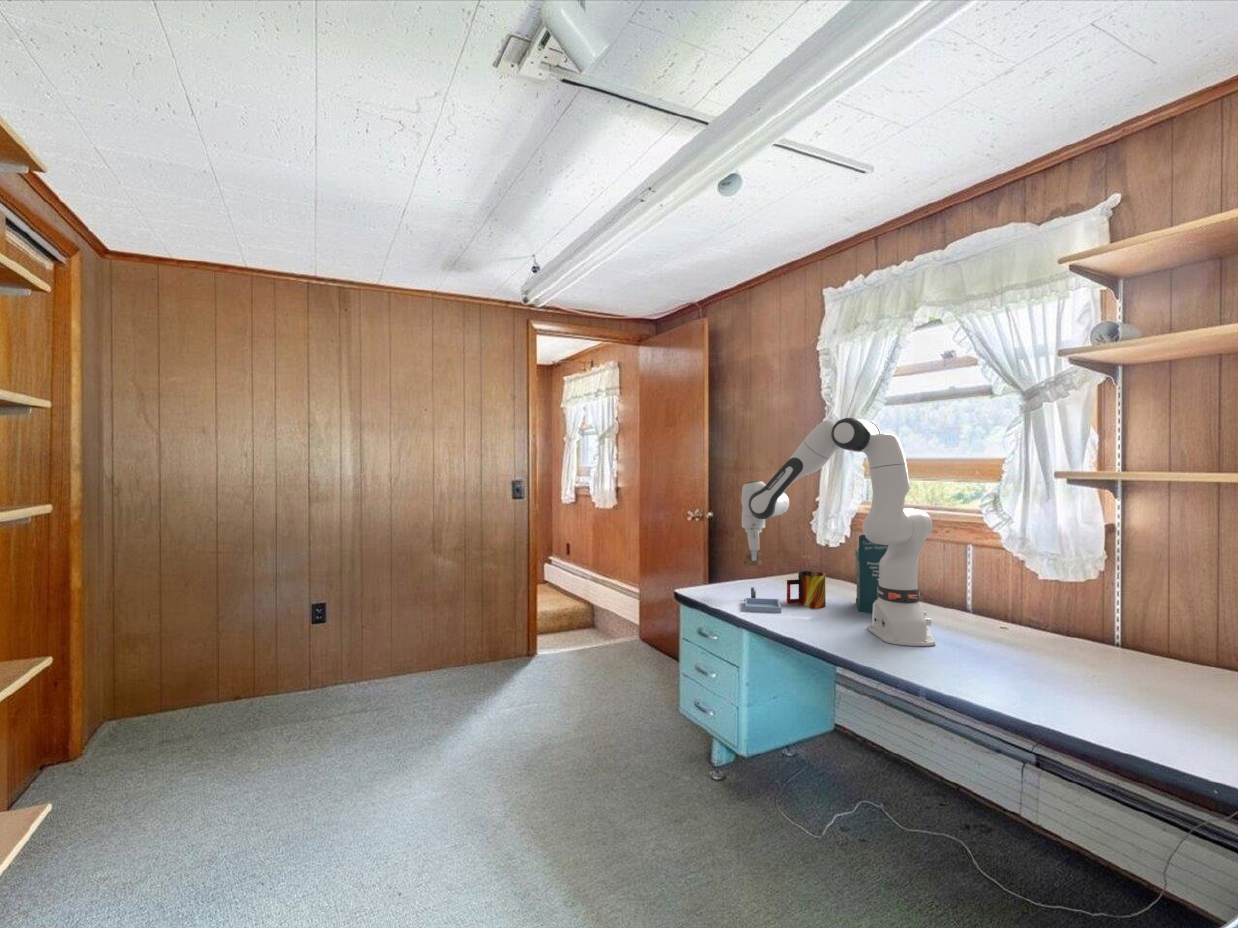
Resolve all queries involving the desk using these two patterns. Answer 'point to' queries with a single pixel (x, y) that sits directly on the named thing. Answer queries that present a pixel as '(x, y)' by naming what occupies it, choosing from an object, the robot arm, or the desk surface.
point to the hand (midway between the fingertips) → (753, 558)
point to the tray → (762, 605)
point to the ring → (749, 559)
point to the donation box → (868, 573)
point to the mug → (809, 589)
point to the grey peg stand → (753, 593)
